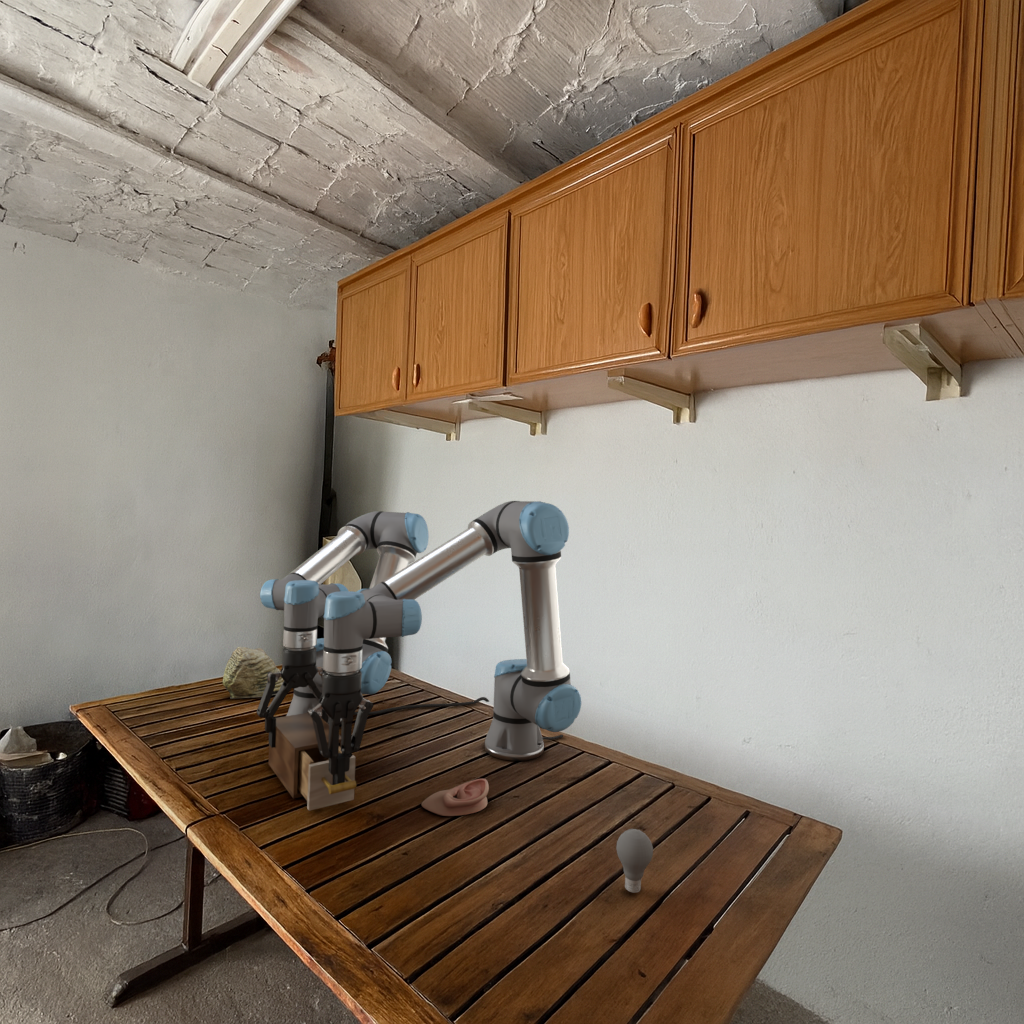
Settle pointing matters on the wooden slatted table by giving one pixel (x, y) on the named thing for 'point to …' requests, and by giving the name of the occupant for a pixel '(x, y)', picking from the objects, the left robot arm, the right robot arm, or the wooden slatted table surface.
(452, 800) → the anatomical model
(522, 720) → the right robot arm
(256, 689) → the fossil
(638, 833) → the light bulb
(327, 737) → the cabinet
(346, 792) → the drawer
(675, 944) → the wooden slatted table surface
